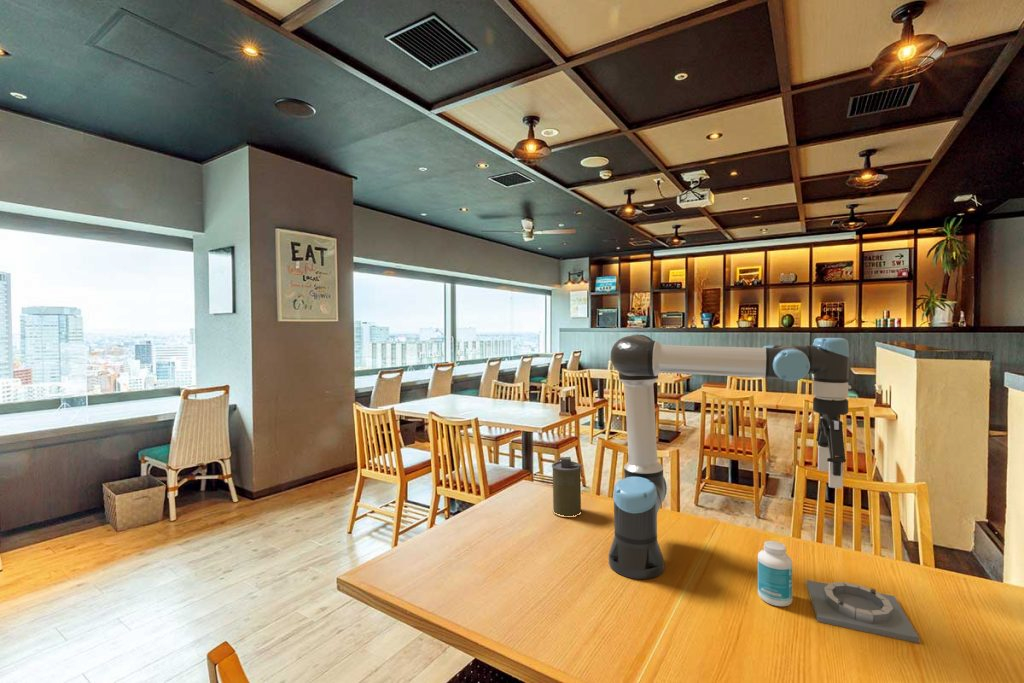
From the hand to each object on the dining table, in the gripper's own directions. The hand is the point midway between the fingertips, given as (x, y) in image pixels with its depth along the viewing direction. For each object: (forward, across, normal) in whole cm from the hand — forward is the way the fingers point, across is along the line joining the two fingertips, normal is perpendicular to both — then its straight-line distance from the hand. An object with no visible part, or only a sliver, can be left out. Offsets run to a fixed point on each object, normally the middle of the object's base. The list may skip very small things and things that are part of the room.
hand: (829, 478), depth 119 cm
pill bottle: (+27, -15, +14) cm, 34 cm away
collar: (+26, -13, -3) cm, 29 cm away
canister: (+28, +16, +76) cm, 83 cm away
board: (+27, -13, -3) cm, 30 cm away
